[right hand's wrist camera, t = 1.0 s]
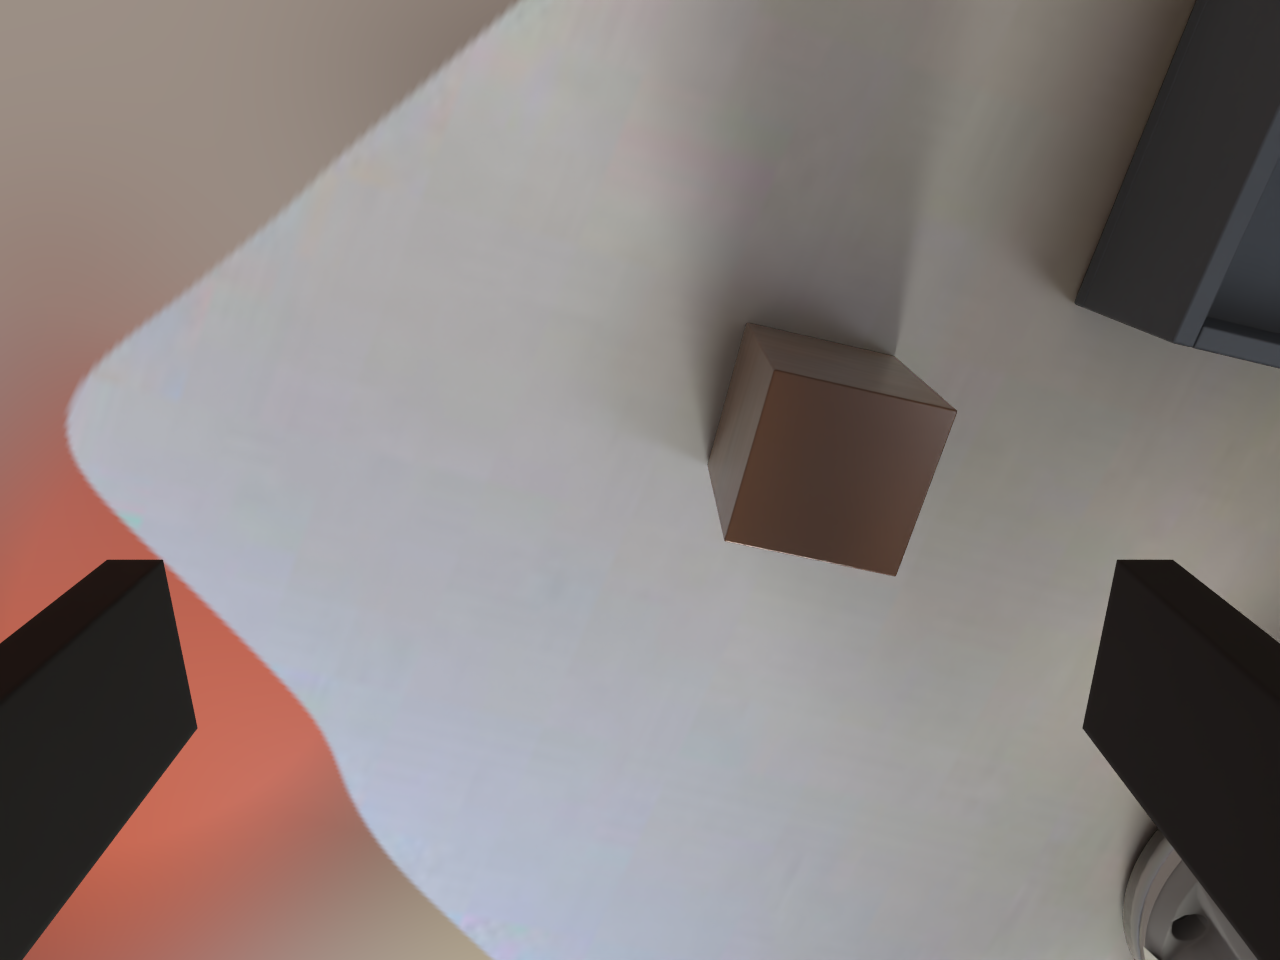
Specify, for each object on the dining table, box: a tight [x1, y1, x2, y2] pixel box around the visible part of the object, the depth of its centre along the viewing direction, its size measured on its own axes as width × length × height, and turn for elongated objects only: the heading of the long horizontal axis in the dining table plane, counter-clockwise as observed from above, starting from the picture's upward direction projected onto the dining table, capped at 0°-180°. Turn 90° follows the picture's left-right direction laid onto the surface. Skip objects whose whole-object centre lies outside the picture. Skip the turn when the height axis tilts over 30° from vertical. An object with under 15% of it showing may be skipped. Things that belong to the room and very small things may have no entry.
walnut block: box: [708, 323, 957, 576], centre depth 27 cm, size 5×5×6 cm
